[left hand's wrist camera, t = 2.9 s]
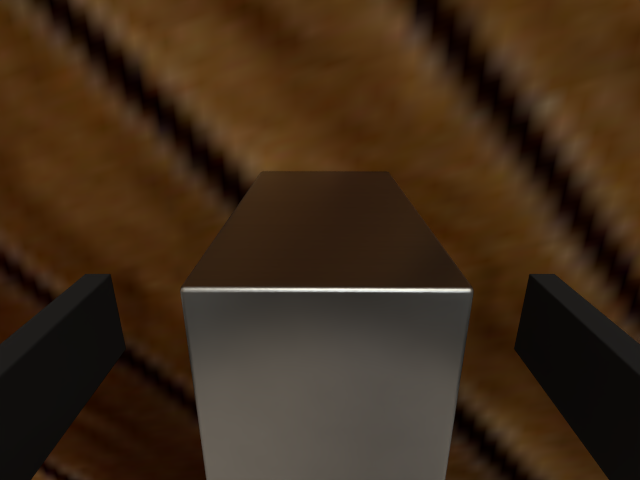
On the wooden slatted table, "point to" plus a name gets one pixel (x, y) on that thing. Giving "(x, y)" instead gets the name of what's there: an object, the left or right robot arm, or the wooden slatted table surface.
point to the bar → (326, 334)
